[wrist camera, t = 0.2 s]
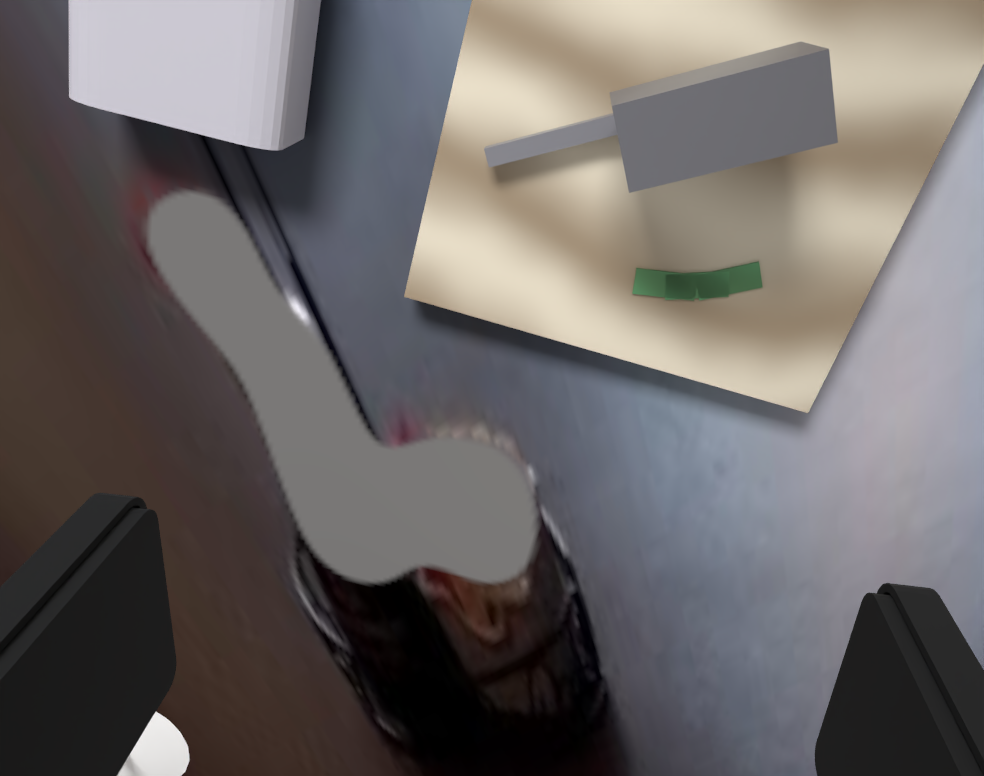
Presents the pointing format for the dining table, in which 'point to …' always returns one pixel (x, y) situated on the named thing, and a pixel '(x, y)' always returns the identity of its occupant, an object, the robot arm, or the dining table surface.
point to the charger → (198, 64)
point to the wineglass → (158, 751)
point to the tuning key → (706, 118)
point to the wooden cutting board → (686, 184)
